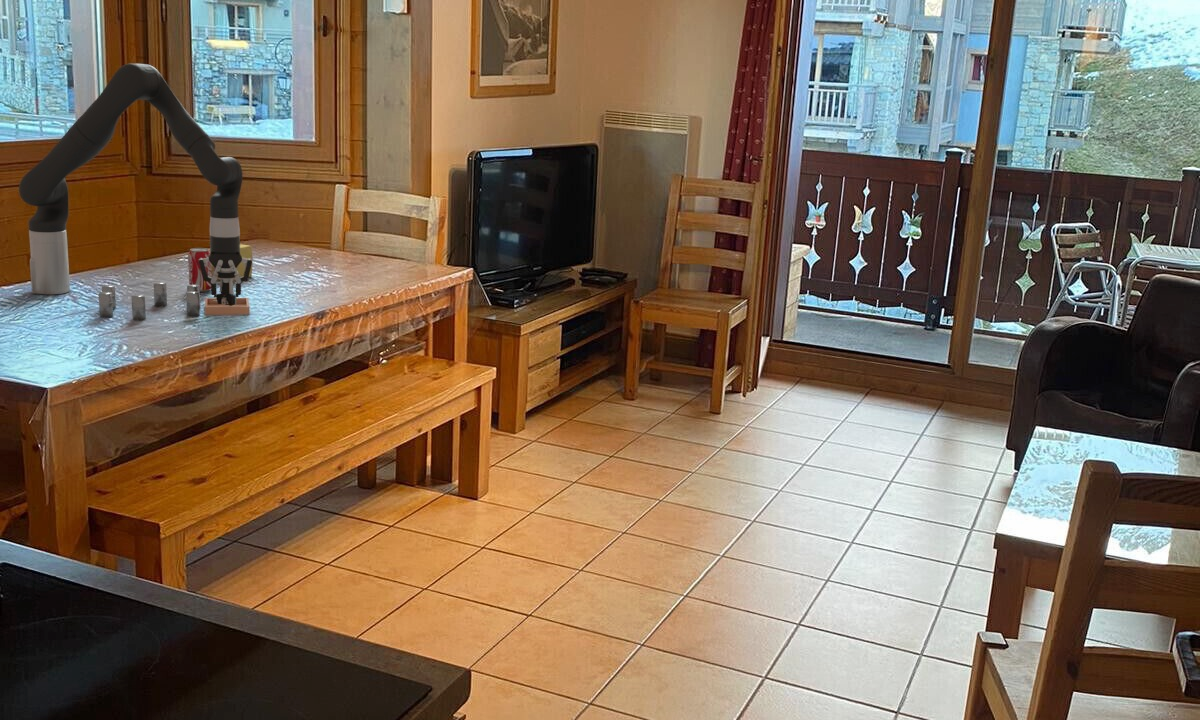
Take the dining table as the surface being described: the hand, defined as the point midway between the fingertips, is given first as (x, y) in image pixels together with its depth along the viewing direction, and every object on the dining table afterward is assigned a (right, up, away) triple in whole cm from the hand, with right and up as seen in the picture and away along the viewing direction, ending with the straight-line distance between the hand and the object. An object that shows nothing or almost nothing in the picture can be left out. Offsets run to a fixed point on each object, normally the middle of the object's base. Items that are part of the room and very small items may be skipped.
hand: (226, 296), depth 304 cm
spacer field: (-18, -4, -6) cm, 19 cm away
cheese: (-13, +8, +43) cm, 46 cm away
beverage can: (-15, +3, +23) cm, 27 cm away
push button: (-1, -2, 0) cm, 2 cm away
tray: (0, -4, +1) cm, 4 cm away
